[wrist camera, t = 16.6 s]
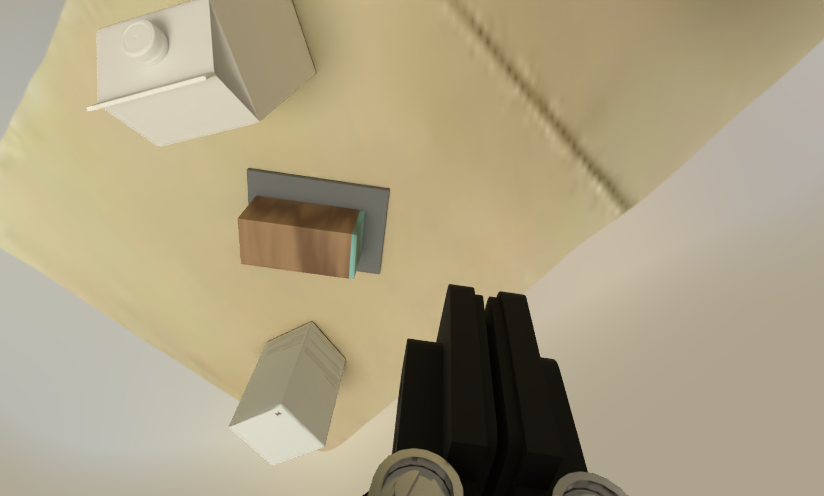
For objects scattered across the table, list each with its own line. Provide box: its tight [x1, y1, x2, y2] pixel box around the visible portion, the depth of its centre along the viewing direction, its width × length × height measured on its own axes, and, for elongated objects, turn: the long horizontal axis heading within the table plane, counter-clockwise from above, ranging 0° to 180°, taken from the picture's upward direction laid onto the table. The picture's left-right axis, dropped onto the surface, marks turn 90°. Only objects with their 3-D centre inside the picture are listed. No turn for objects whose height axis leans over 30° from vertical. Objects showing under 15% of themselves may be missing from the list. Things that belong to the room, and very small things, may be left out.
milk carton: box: [86, 0, 316, 147], centre depth 33 cm, size 7×7×19 cm
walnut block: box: [238, 196, 365, 278], centre depth 47 cm, size 5×5×11 cm
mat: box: [247, 168, 389, 274], centre depth 50 cm, size 14×10×1 cm
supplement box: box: [229, 322, 346, 466], centre depth 54 cm, size 7×7×13 cm
